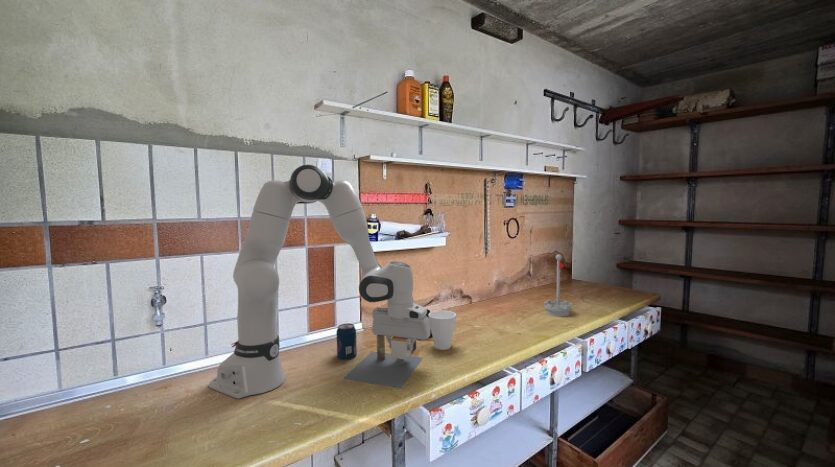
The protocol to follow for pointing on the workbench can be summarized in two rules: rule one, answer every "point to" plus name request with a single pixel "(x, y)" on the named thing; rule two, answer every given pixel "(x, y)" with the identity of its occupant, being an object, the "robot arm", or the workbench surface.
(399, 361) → the steel post
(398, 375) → the board
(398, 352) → the white block tan top
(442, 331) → the cup
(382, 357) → the birch dowel
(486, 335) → the workbench surface
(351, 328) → the soda can
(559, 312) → the flag stand
